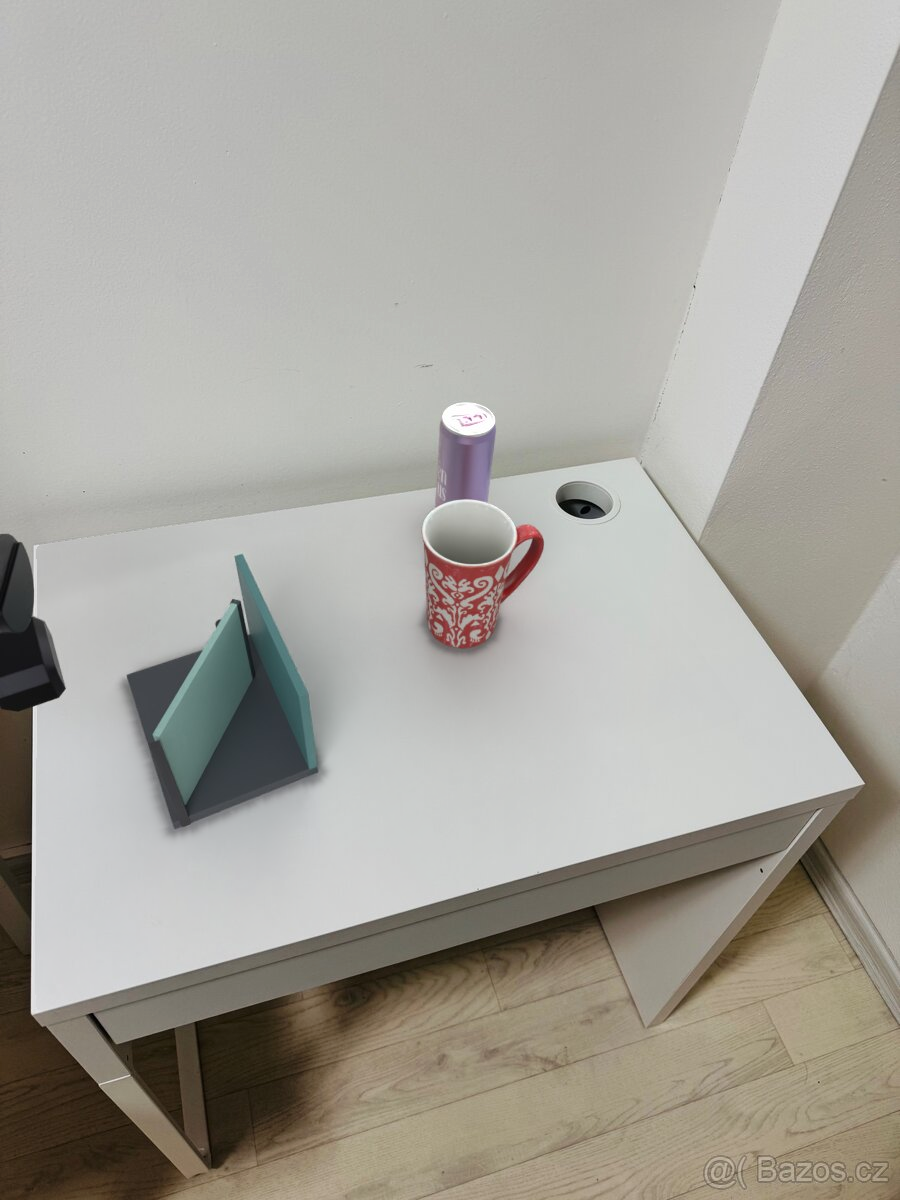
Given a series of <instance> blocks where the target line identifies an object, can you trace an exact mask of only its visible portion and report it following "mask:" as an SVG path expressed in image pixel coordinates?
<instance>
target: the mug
mask: <svg viewBox="0 0 900 1200" xmlns="http://www.w3.org/2000/svg"><path fill="white" fill-rule="evenodd" d="M421 538H422V542H423V552H424V553H423V555H424V576H425V601H426V622H427V626H428V630H429V632H430V633H431V635H432V636H433V637H434V638H435V639H436V640H437V641H438V642H440V643H441V644H443V645H445V646H448V647H452V648H457V649H467V648H468V649H469V648H474V647H477V646H480V645H482V644H483V643H484V642H486V641H487V640H488V639H489V638H490V637H491V636H492V635H493V633H494V632H495V628H496V625H497V622H498V615H499V611H500V607H501V604H503V602H505V600H507V599H508V598H509V597H510V596H511V595H512V594H513V593H514V592H515V591H516V590H517V589H518V588H519V587H520V586H521V584H522V583H523V582H524V581H525V580H526V579H527V578H528V576H529V575H530V574H531V572H532V571H533V570H534V569H535V568H536V566H537V564H538V563H539V561H540V559H541V557H542V554H543V553H544V548H545V540H544V537H543V534H542V533H541V532H540V531H539V529H537V528H536V526H534V525H532V524H521V525H518V526H516V525H515V522H514V521H513V520H512V518H511V517H510V516H509V515H508V514H507V513H506V512H505V511H503V510H502V509H501V508H499V507H498V506H496V505H494V504H492V503H489V502H488V503H486V502H482V501H478V500H455V501H451V502H447V503H444V504H442V505H440V506H438V507H436V508H435V507H434V508H433V509H432V510H431V511H429V513H428V514H426V516H425V518H424V519H423V522H422V524H421ZM529 540H531V543H530V545H529V547H528V549H527V551H526V552H525V554H524V556H523V557H522V558H521V560H520V561H519V562H518V563H517V564H516V566H515V567H514V568H513V569H512V570H511V571H510V572H509V568H510V564H511V560H512V556H513V555H512V554H513V553H514V551H515V550H516V548H518V547H519V546H520V545H522V544H523V543H525V542H526V541H529ZM508 572H509V573H508Z"/></svg>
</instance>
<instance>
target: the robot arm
mask: <svg viewBox="0 0 900 1200" xmlns="http://www.w3.org/2000/svg"><path fill="white" fill-rule="evenodd" d="M32 568H33V567H32V565H31V562H30V557H29V555H28V552H27V548H26V547H25V545H24V544H23V542H22V541H18V540H17V539H16V538H15V537H14V536H13V535H12V534H10V533H0V709H1V710H3V711H10V712H11V711H12V712H17V713H19V712H22V711H25V710H28V709H30V708H33V707H36V706H39V705H43V704H45V703H48V702H51V701H53V700H57V699H60V697H61V696H62V695H63V693H64V692H65V691H66V690H67V687H66V683H65V680H64V677H63V672H62V669H61V665H60V661H59V657H58V653H57V649H56V646H55V643H54V637H53V635H52V633H51V631H50V629H49V627H48V625H47V623H46V621H45V620H43V619H41V618H39V617H37V616H35V615H33V613H34V605H35V586H34V575H33V569H32Z"/></svg>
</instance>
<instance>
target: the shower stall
mask: <svg viewBox="0 0 900 1200" xmlns="http://www.w3.org/2000/svg"><path fill="white" fill-rule="evenodd" d="M234 562H235V568H236V571H237V578H238V583H239V587H240V592H241V597H242V602H243V607H244V612H245V618H246V623H247V626H248V627H247V628H248V632H249V634H248V639H249V644H250V649H251V654H252V659H253V664H254V669H255V674H256V676H255V678H254V679H253V680H252V681H251V683H250V685H249V687H248V689H247V691H246V693H245V695H244V696H243V698H242V700H241V702H240V704H239V706H238V708H237V710H236V711H235V713H234V715H233V717H232V719H231V721H230V723H229V725H228V727H227V728H226V730H225V732H224V734H223V736H222V738H221V740H220V742H219V743H218V745H217V747H216V749H215V751H214V753H213V755H212V757H211V759H210V760H209V762H208V764H207V766H206V768H205V770H204V772H203V774H202V775H201V777H200V779H199V781H198V783H197V785H196V787H195V789H194V790H193V792H192V794H191V796H190V798H189V800H188V802H187V804H186V805H184V802H183V800H182V797H181V794H180V792H179V789H178V787H177V784H176V781H175V779H174V776H173V774H172V771H171V768H170V766H169V763H168V761H167V758H166V755H165V753H164V750H163V748H162V745H161V742H160V740H157V741H155V740H154V737H153V733H154V731H155V729H156V728H157V726H158V724H159V723H160V721H161V719H162V718H163V716H164V714H165V713H166V711H167V709H168V708H169V706H170V704H171V703H172V701H173V699H174V698H175V696H176V694H177V693H178V691H179V689H180V688H181V686H182V684H183V683H184V681H185V679H186V678H187V676H188V674H189V673H190V671H191V669H192V668H193V666H194V664H195V663H196V661H197V659H198V658H199V656H200V654H201V653H202V651H203V649H201V650H198V651H195V652H192V653H189V654H185V655H182V656H180V657H176V658H174V659H171V660H168V661H165V662H162V663H159V664H156V665H152V666H149V667H145V668H143V669H141V670H137V671H134V672H131V673H128V674H126V677H127V678H126V679H127V682H128V685H129V689H130V692H131V694H132V698H133V701H134V704H135V708H136V711H137V715H138V717H139V720H140V724H141V728H142V730H143V733H144V737H145V740H146V743H147V747H148V750H149V753H150V756H151V759H152V763H153V766H154V770H155V772H156V775H157V778H158V782H159V785H160V788H161V791H162V795H163V799H164V801H165V805H166V808H167V811H168V815H169V816H170V817H169V818H170V820H171V824H172V825H173V826H172V827H173V828H174V830H177V829H179V828H185V827H187V826H189V825H191V824H192V823H194V822H197V821H199V820H202V819H205V818H207V817H209V816H212V815H214V814H217V813H219V812H222V811H225V810H227V809H229V808H232V807H235V806H237V805H240V804H243V803H244V802H247V801H250V800H253V799H255V798H256V797H260V796H262V795H265V794H268V793H270V792H272V791H275V790H278V789H280V788H283V787H286V786H288V785H289V784H293V783H295V782H298V781H300V780H302V779H305V778H307V777H310V776H313V775H315V774H318V773H319V769H318V768H319V767H318V762H317V759H318V758H317V753H316V744H315V735H314V728H313V721H312V713H311V712H312V711H311V704H310V697H309V692H308V690H307V687H306V685H305V683H304V681H303V679H302V676H301V674H300V673H299V670H298V669H297V666H296V664H295V662H294V660H293V658H292V655H291V654H290V651H289V650H288V647H287V645H286V643H285V641H284V639H283V636H282V634H281V631H280V630H279V628H278V625H277V623H276V621H275V620H274V617H273V615H272V613H271V611H270V609H269V607H268V604H267V603H266V600H265V598H264V596H263V594H262V592H261V590H260V588H259V585H258V583H257V581H256V579H255V577H254V575H253V572H252V571H251V568H250V566H249V564H248V562H247V560H246V557H245V556H244V554H243V553H240V554H237V555H234Z"/></svg>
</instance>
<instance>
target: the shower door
mask: <svg viewBox="0 0 900 1200" xmlns="http://www.w3.org/2000/svg"><path fill="white" fill-rule="evenodd" d="M245 620H246V619H245V615H244V610H243V605H242V601H241V600H239V599H235V598H232V599H231V601H230V603H229V606H228V607H227V609H226V611H225V612H224V614H223V616H222V618H219V619H217V620H216V621H215V629H214V631H213V633H212V634H211V636H210V638H209V639H208V641H207V642H206V644H205V645H204V648H203V649H202V650H203V651H202V653H201V654H200V656H199V658H198V659H197V661H196V663H195V664H194V666H193V668H192V669H191V671H190V673H189V674H188V676H187V678H186V679H185V681H184V683H183V684H182V686H181V688H180V689H179V691H178V693H177V694H176V696H175V698H174V699H173V701H172V703H171V704H170V706H169V708H168V709H167V711H166V713H165V714H164V716H163V718H162V719H161V721H160V723H159V724H158V726H157V728H156V729H155V731H154V733H153V737H154V740H155V741H157V740H160V742H161V745H162V748H163V750H164V753H165V755H166V758H167V761H168V763H169V766H170V768H171V771H172V774H173V776H174V779H175V781H176V784H177V787H178V789H179V792H180V794H181V797H182V800H183V802H184V805H186V804H187V802H188V800H189V798H190V796H191V794H192V792H193V790H194V789H195V787H196V785H197V783H198V781H199V779H200V777H201V775H202V774H203V772H204V770H205V768H206V766H207V764H208V762H209V760H210V759H211V757H212V755H213V753H214V751H215V749H216V747H217V745H218V743H219V742H220V740H221V738H222V736H223V734H224V732H225V730H226V728H227V727H228V725H229V723H230V721H231V719H232V717H233V715H234V713H235V711H236V710H237V708H238V706H239V704H240V702H241V700H242V698H243V696H244V695H245V693H246V691H247V689H248V687H249V685H250V683H251V681H252V680H253V679H254V678H255V676H256V674H255V669H254V664H253V659H252V654H251V649H250V644H249V639H248V635H249V634H248V629H247V625H246V621H245Z"/></svg>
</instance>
